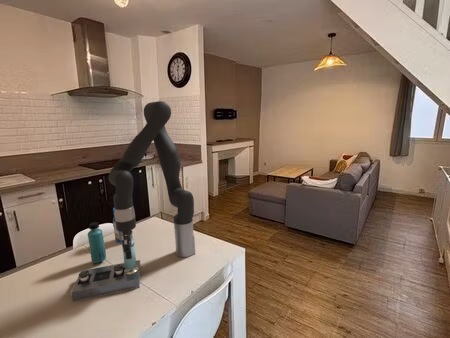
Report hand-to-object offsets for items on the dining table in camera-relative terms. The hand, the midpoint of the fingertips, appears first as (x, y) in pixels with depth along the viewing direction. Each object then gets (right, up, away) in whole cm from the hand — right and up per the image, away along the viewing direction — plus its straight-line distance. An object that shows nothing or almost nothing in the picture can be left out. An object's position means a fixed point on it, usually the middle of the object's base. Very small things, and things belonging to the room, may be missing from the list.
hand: (129, 255), depth 100 cm
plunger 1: (-17, -10, -3) cm, 20 cm away
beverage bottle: (-21, -9, +15) cm, 27 cm away
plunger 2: (-4, -9, 0) cm, 10 cm away
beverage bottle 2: (-18, -5, +36) cm, 40 cm away
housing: (-8, -12, 0) cm, 14 cm away
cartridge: (0, -5, +1) cm, 5 cm away
